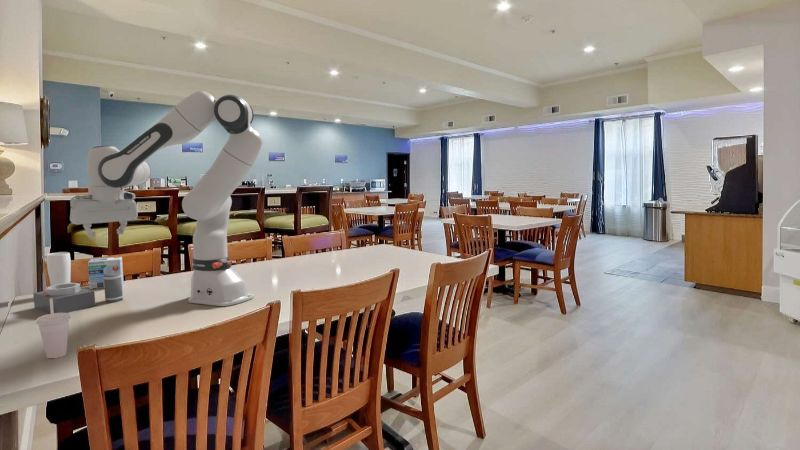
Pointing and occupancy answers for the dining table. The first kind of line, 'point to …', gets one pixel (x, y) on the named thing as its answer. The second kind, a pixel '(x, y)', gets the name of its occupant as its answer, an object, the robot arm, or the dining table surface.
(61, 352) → the smoothie
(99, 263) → the light bulb box
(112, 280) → the lens
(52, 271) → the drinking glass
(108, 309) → the dining table surface
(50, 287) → the camera body
